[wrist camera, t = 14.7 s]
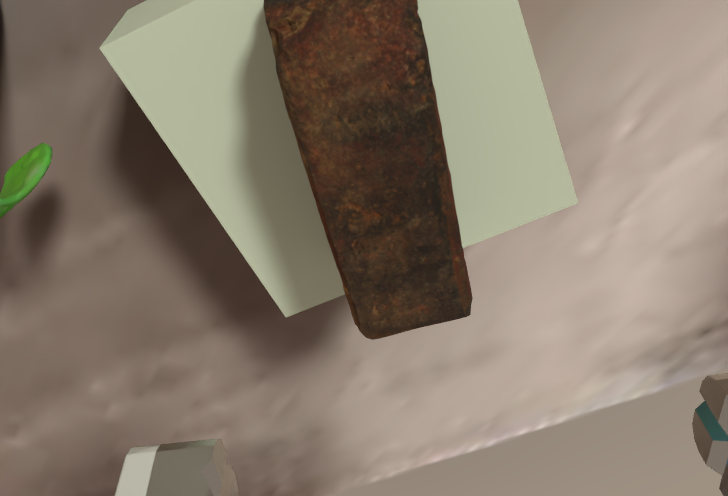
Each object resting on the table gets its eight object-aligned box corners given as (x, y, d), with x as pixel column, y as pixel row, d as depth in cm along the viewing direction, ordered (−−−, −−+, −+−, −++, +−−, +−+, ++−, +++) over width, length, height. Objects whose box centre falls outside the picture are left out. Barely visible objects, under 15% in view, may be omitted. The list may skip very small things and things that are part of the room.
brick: (453, 239, 25) (481, 321, 21) (350, 263, 26) (359, 348, 22) (398, -60, 19) (422, -20, 15) (263, -24, 20) (254, 24, 16)
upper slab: (449, -154, 21) (475, -141, 18) (546, 152, 28) (578, 202, 25) (127, 9, 24) (99, 47, 20) (288, 258, 30) (286, 317, 27)
